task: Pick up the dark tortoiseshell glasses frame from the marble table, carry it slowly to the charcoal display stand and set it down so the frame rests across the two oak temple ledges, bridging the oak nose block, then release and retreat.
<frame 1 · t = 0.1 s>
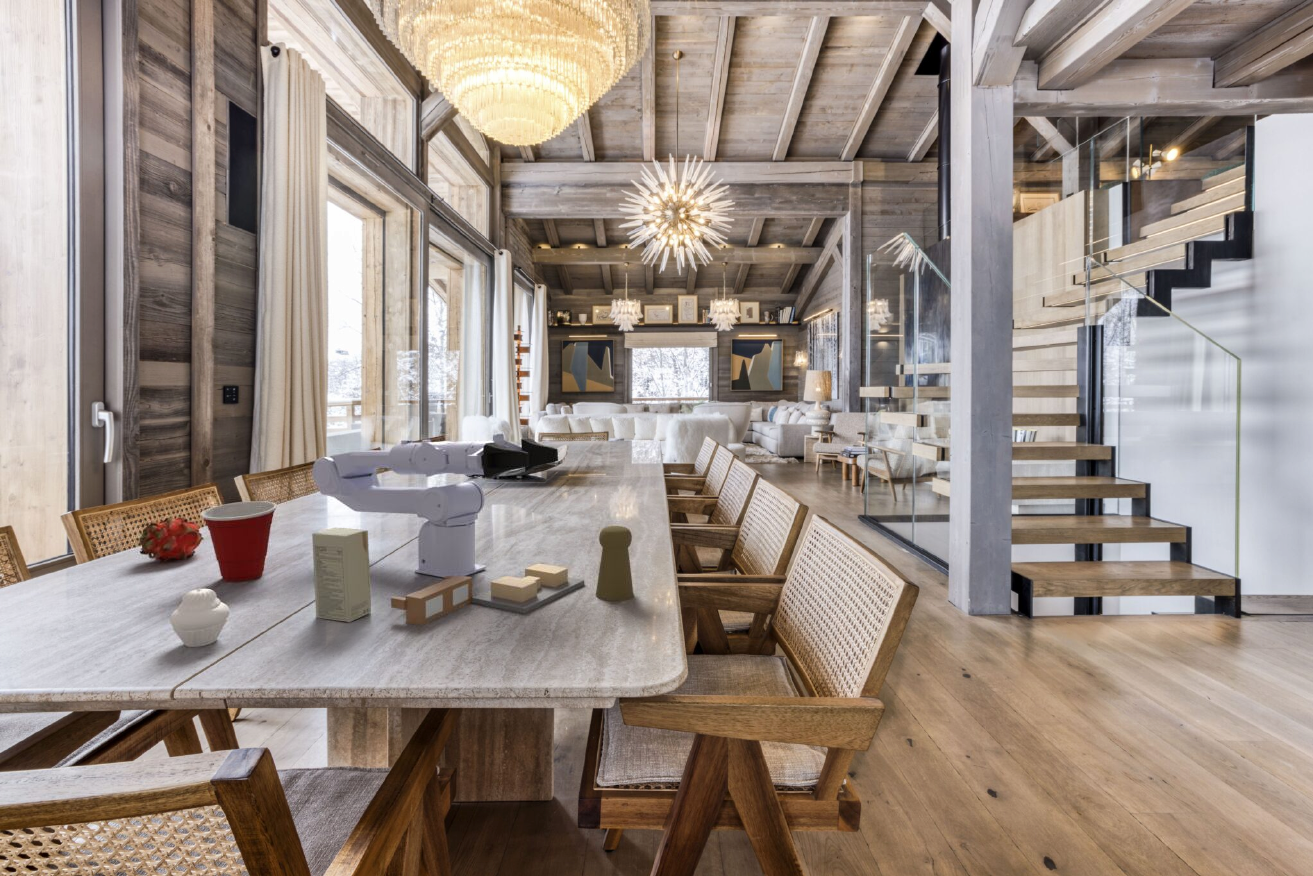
hand: (542, 457, 104), 22 cm above the table, tool horizontal, fingers open, 7 cm apart
plastic cup: (241, 578, 109), on the table
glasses: (440, 612, 94), on the table
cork: (614, 596, 104), on the table
skincare box: (343, 616, 92), on the table
muffin: (201, 643, 82), on the table
display head: (530, 593, 103), on the table
dragon fruit: (174, 559, 119), on the table
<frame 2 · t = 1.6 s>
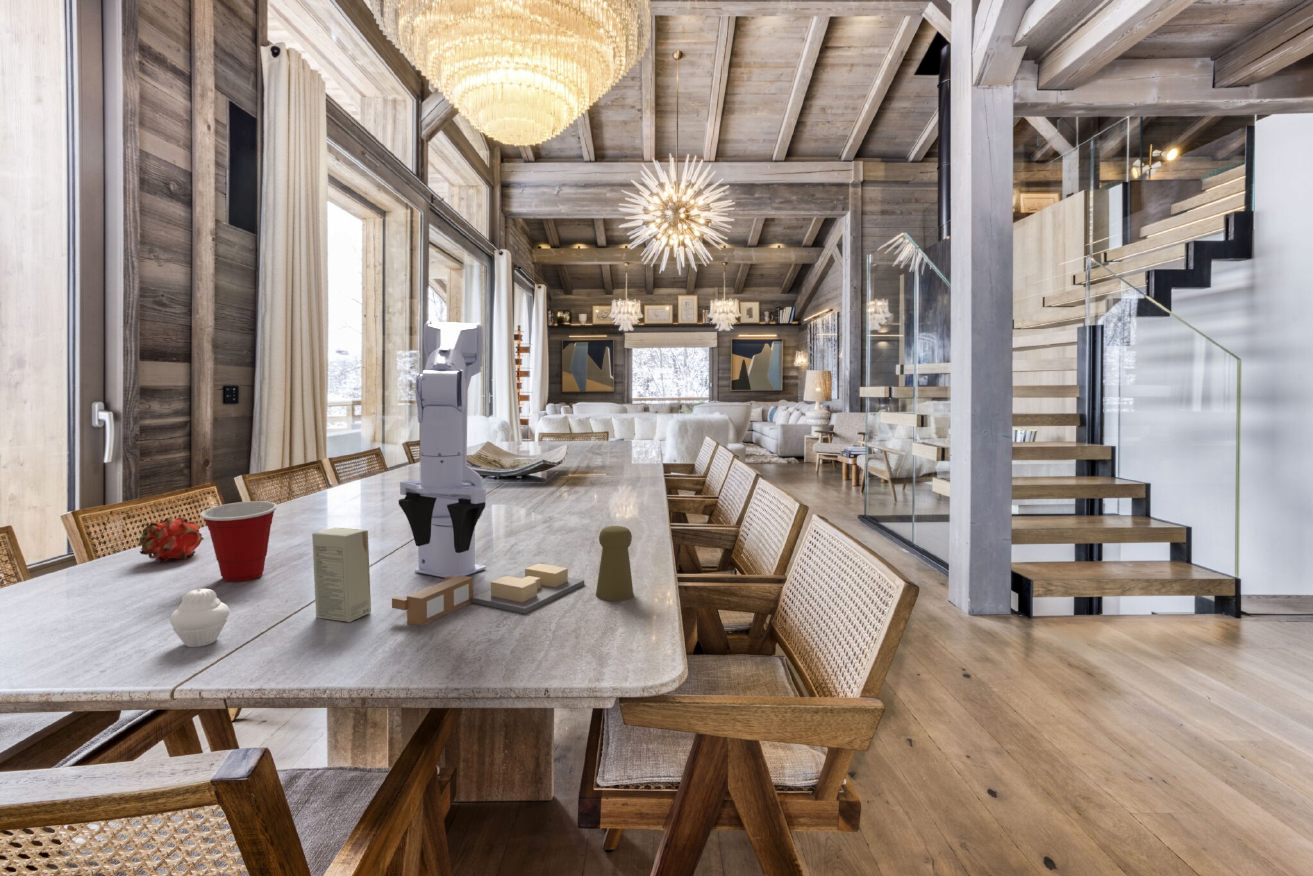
hand: (442, 547, 94), 9 cm above the table, tool pointing down, fingers open, 7 cm apart
nothing on the table moved.
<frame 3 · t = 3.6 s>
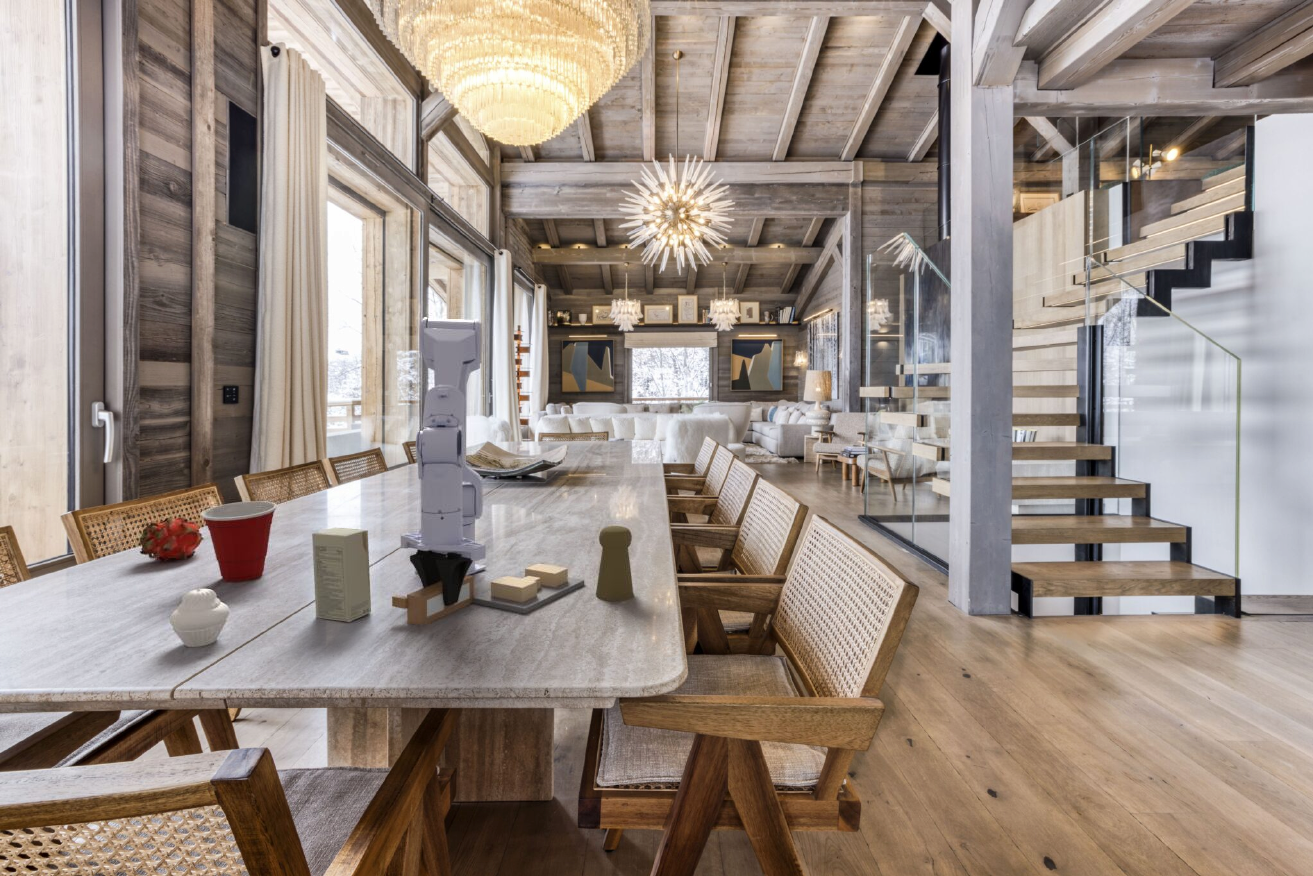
hand: (442, 601, 94), 1 cm above the table, tool pointing down, fingers closed on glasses, 3 cm apart
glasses: (442, 611, 94), on the table, touching gripper
everything else where it was.
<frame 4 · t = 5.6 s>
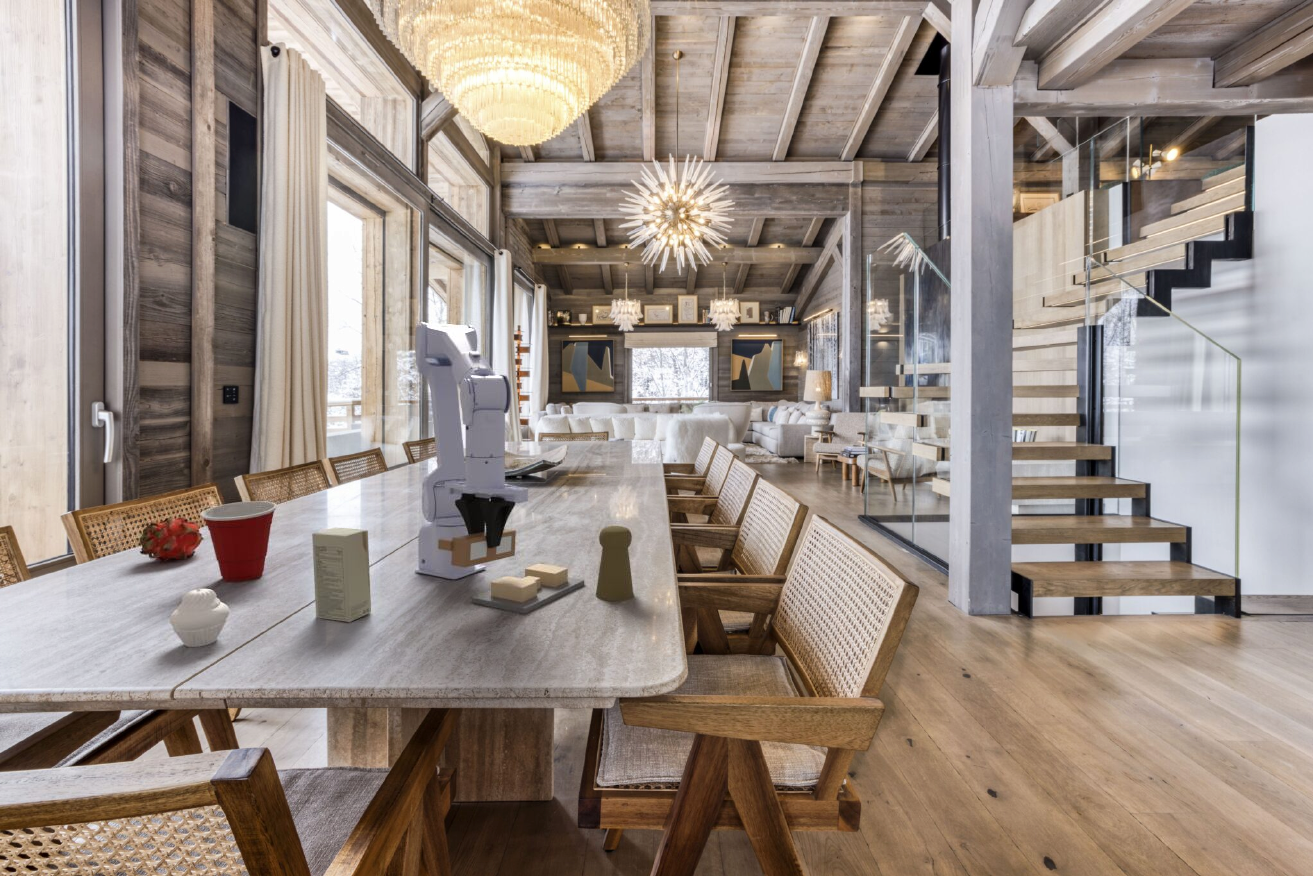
hand: (485, 545, 98), 9 cm above the table, tool pointing down, fingers closed on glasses, 3 cm apart
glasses: (484, 560, 98), point 7 cm above the table, touching gripper
everything else where it was.
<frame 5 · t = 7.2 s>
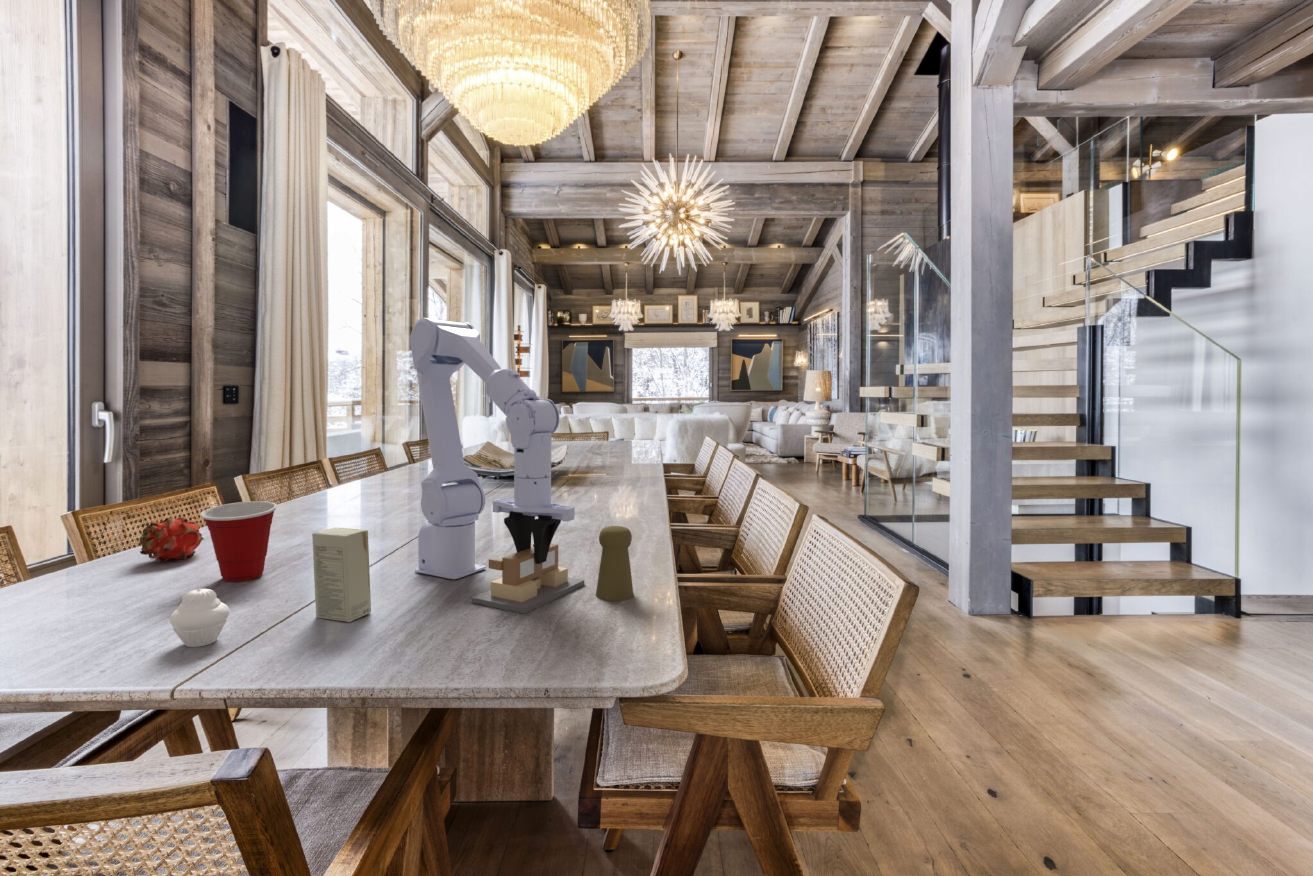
hand: (532, 561, 103), 5 cm above the table, tool pointing down, fingers closed on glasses, 3 cm apart
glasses: (531, 575, 103), point 3 cm above the table, touching display head, gripper
everything else where it was.
when the fingers open (5 cm above the table, at t = 7.9 s): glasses stays where it is, resting on display head.
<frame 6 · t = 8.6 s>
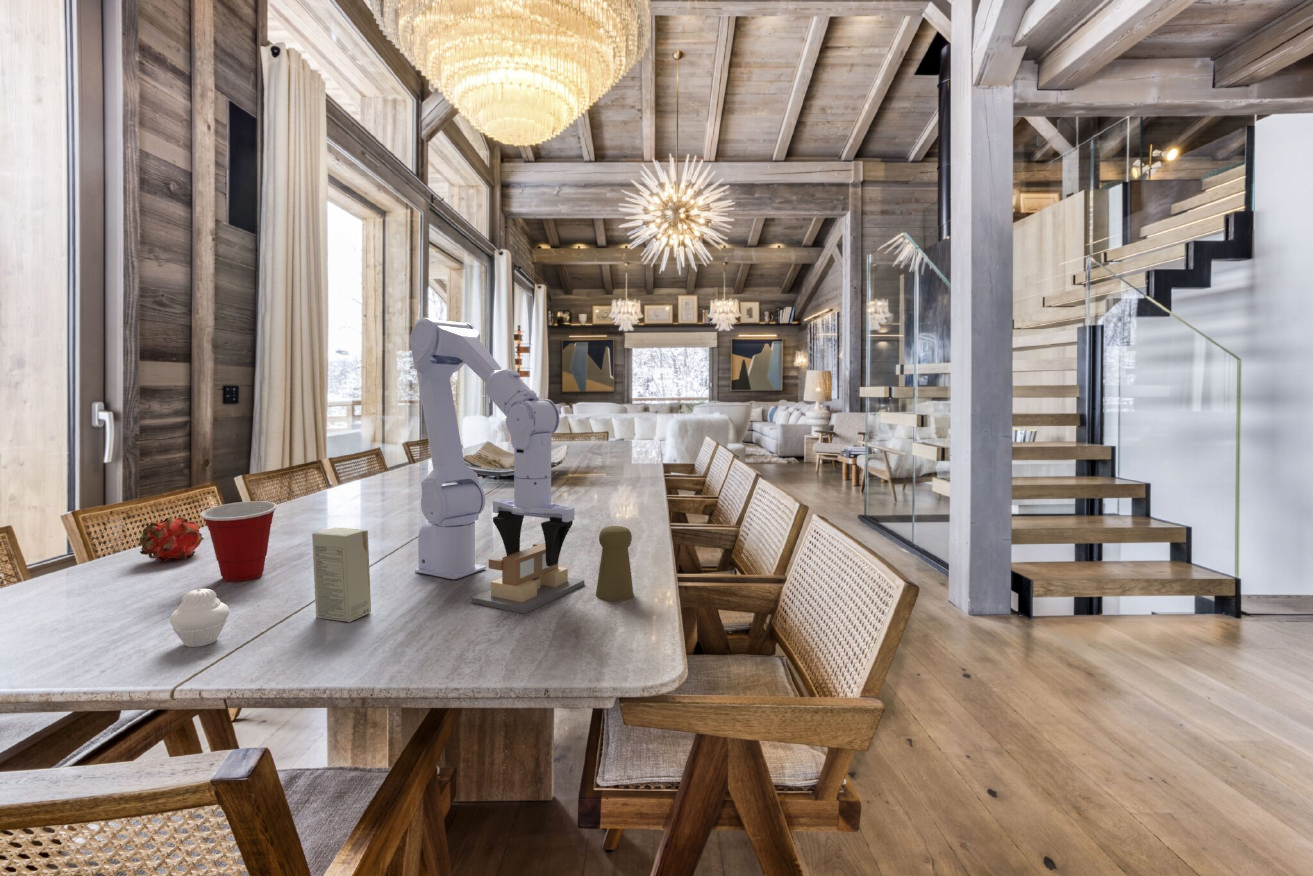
hand: (532, 561, 103), 5 cm above the table, tool pointing down, fingers open, 7 cm apart
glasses: (531, 575, 103), point 3 cm above the table, touching display head
everything else where it was.
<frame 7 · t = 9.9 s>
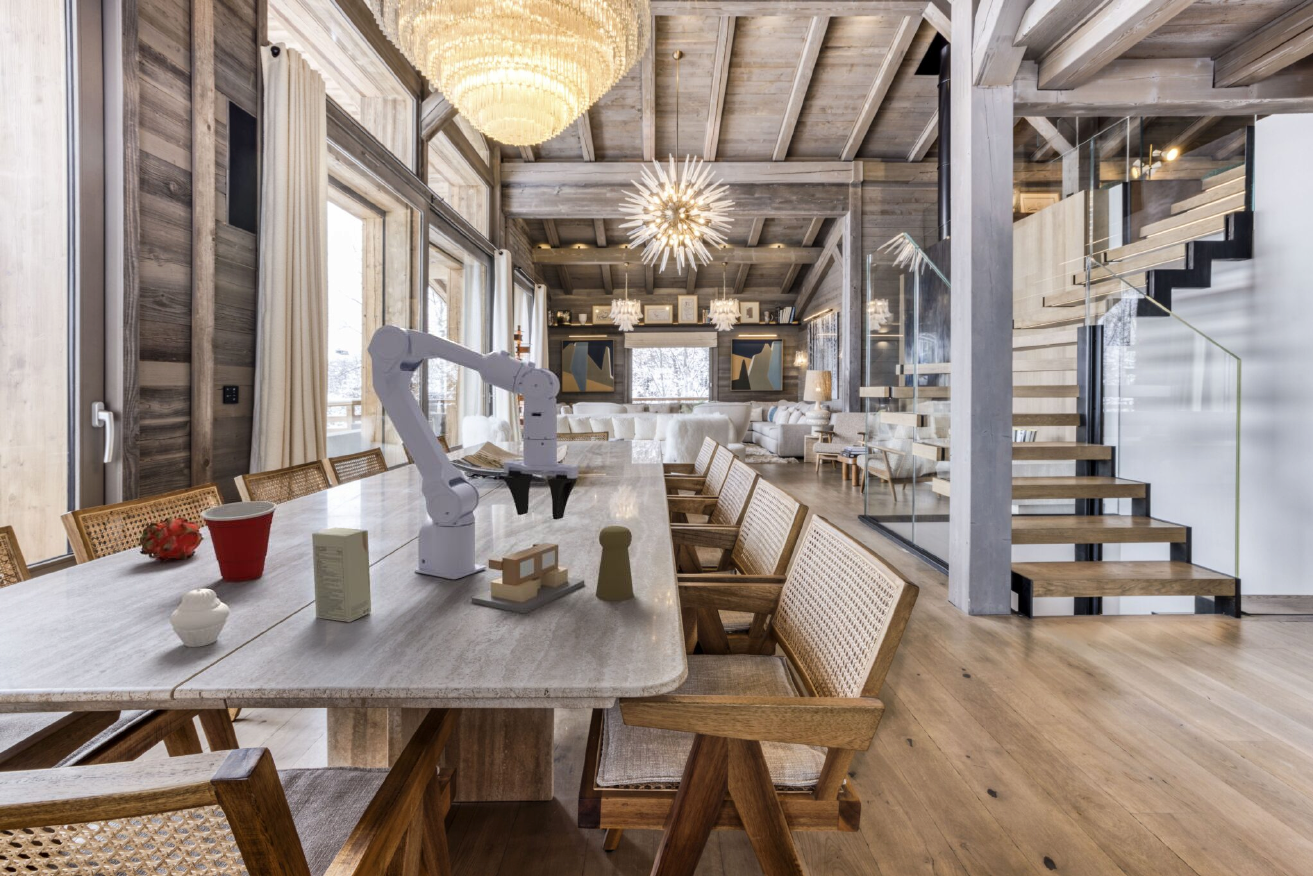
hand: (540, 516, 113), 10 cm above the table, tool pointing down, fingers open, 7 cm apart
nothing on the table moved.
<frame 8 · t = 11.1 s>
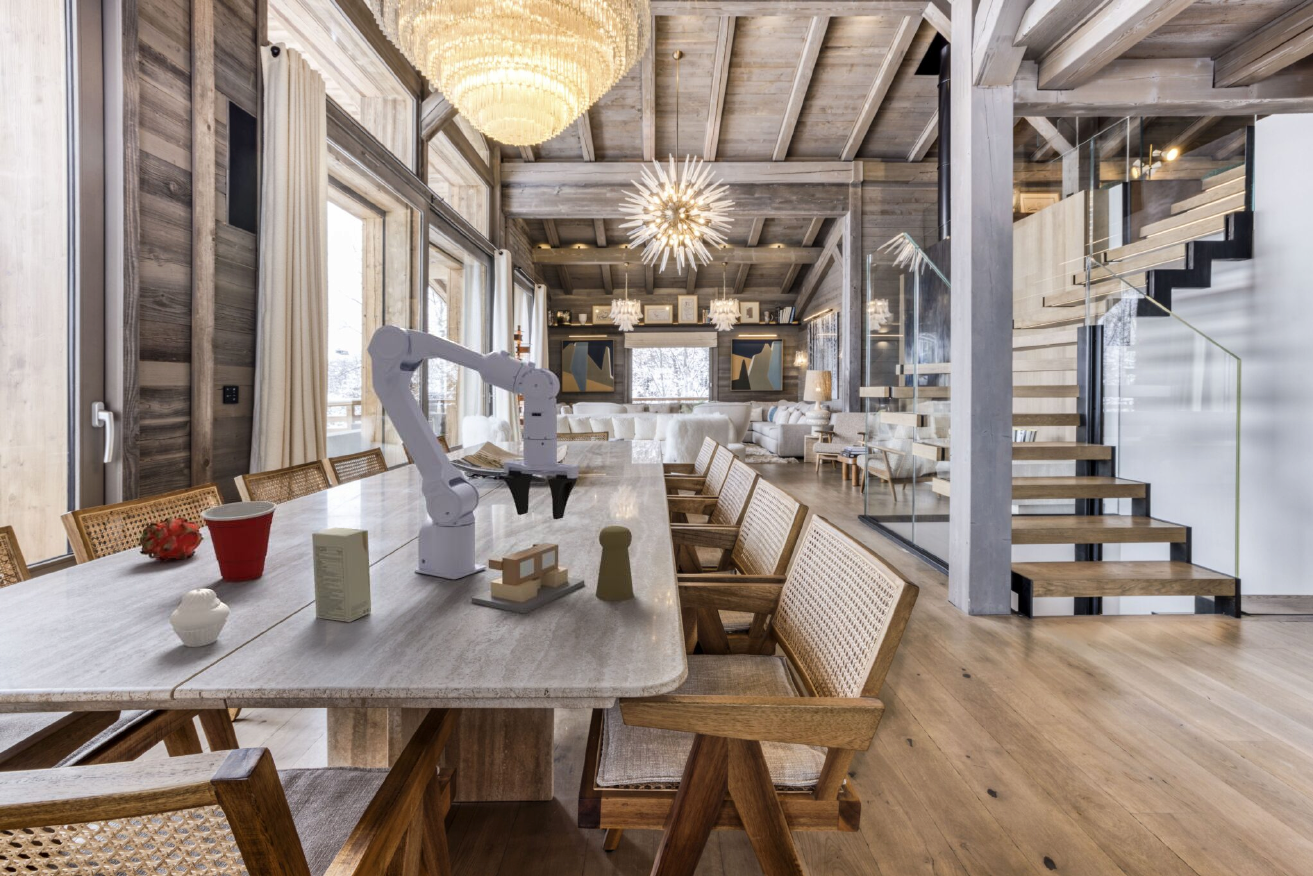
hand: (540, 516, 113), 10 cm above the table, tool pointing down, fingers open, 7 cm apart
nothing on the table moved.
at the end: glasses inside the target area on the display head (0.3 cm from its centre), point 3.0 cm above the display head's base; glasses tilted 0°; the gripper is holding nothing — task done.
